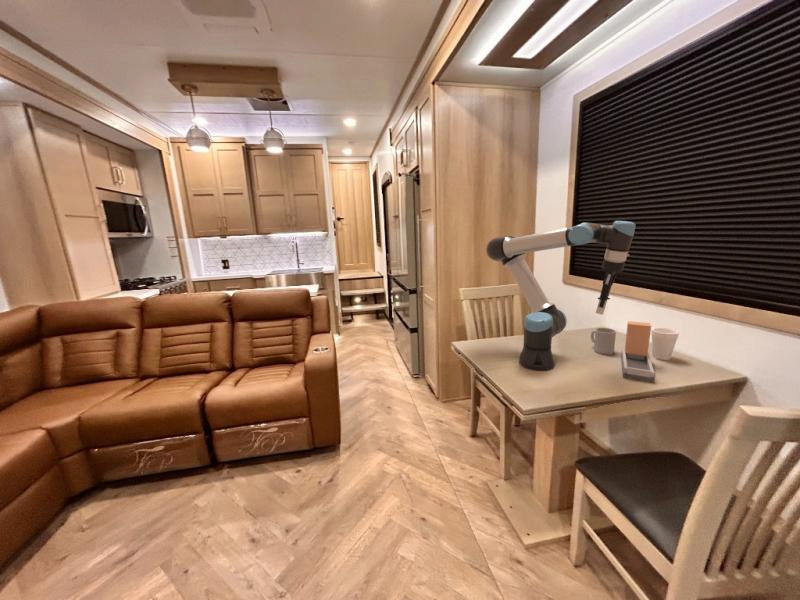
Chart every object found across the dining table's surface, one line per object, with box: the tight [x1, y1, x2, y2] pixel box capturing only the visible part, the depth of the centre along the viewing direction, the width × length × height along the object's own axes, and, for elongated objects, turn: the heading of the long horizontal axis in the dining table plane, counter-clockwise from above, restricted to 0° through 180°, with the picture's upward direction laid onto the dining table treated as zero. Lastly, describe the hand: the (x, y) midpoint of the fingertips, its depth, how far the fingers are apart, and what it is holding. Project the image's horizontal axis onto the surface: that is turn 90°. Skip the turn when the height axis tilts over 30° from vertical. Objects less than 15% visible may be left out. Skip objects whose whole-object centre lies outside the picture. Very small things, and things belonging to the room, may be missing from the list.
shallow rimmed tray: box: [620, 348, 655, 384], centre depth 137 cm, size 25×10×4 cm, turn 147°
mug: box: [590, 327, 617, 355], centre depth 157 cm, size 12×8×11 cm
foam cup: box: [650, 327, 680, 361], centre depth 145 cm, size 10×9×13 cm
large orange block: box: [624, 320, 652, 360], centre depth 142 cm, size 6×8×16 cm
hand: (599, 313), depth 137 cm, fingers closed
